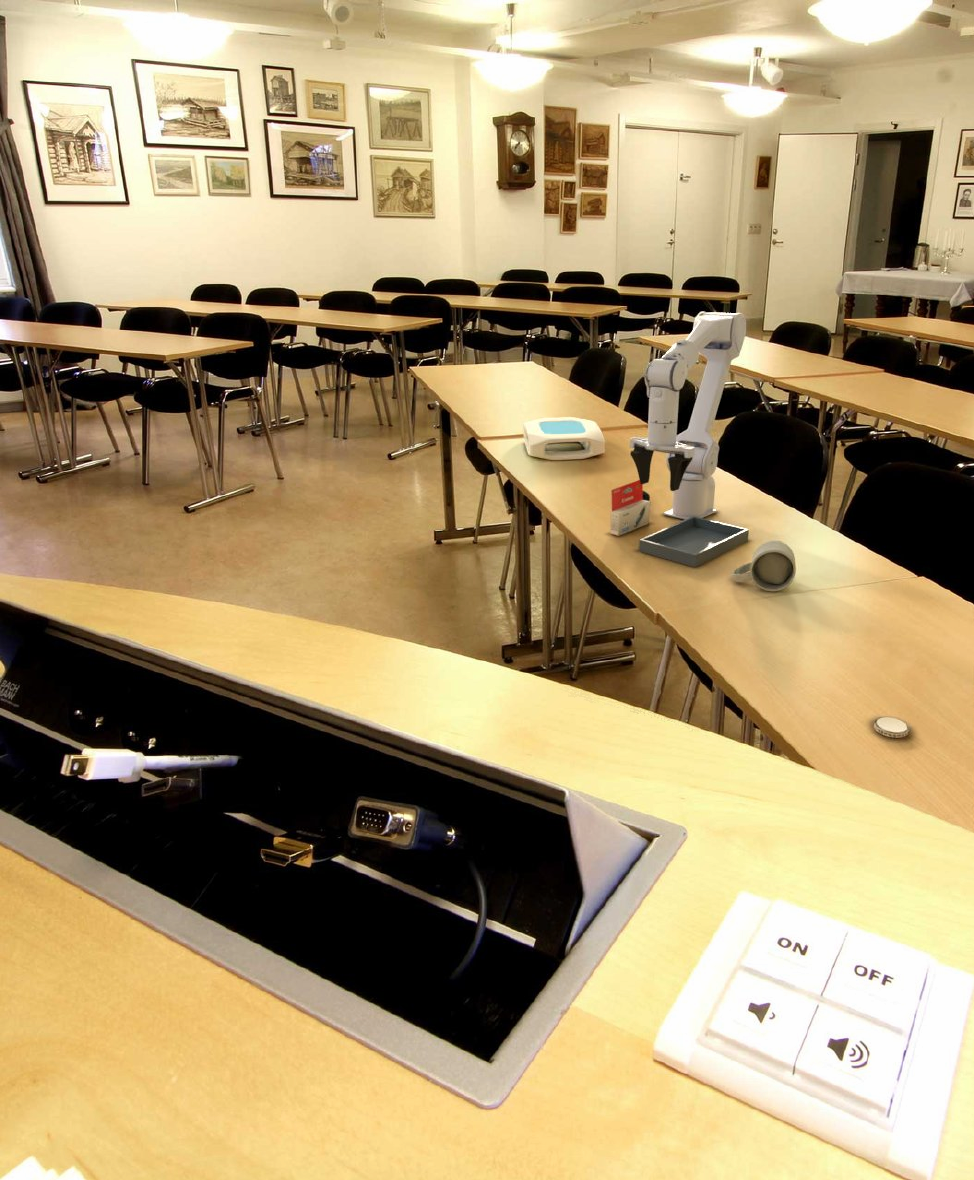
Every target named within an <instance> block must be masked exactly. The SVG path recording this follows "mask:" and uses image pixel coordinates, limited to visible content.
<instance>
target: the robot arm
mask: <svg viewBox="0 0 974 1180" xmlns="http://www.w3.org/2000/svg"><path fill="white" fill-rule="evenodd" d="M746 335H747V320H746V317H745V315H744V314H743V313H742V312H737V313H731V312H730V313H729V312H727V313H726V312H706V311H699V313H698V314H697V315H696V316H695V318H694V321H693V326H692V331H691V332H690V333H689V335H688V336H687V338H686V339H677V340H676V342H675V343H674V344H673V345H672V346H671V347H670V348H669V349H668V350H667V352H665V353H664V355H662V357H661V358H654V359H653V360H652V361H650V362H649V363H648V364H647V367H646V369H645V374H644V384H645V386H646V396H647V398H649V399H648V420H647V426H648V427H647V437H641V436H633V437H631V438H630V439H629V448H631V449H633V450H631V451H630V452H629V454H630V457H631V458H632V461H633V463H634V464H635V467H636V471H637V474H638V478H639V479H638V480H640V484H643V485H645V484H648V483H650V476H651V466H652V465H651V464H652V459H653V456H654V453H655V452H658V453H662V454H666V459H665V460H666V461H665V464H666V468H667V470H668V471H669V472H670V473H669V474H670V475H669V478H670V479H669V480H670V481H669V491H670V492H672V506H671V507H672V508H671V509H670V510H666V511H665V512H663V514H664V516H668V517H672V518H676V519H681V520H686V519H688V518H690V517H693V516H695V517H699V518H706V517H708V516H711V515H712V514H715V513H717V511H718V510H717V509H715V508H714V507H715V493H716V481H715V479H714V477H713V475H714V473H715V472H716V470H717V466H718V459H719V452H720V446H719V443H718V442H717V441H716V439H715V438H714V437H713V436H712V435H711V433H712V429H713V427H714V423H715V420H716V415H717V413H718V408H719V405H720V402H721V399H722V395H723V391H724V388H725V384H726V382H727V378H728V375H729V371H730V368H731V365H732V361H733V360H734V359H736V358H738V357H740V354H741V351H742V348H743V345H744V342H745V338H746ZM700 356H701V357H704V358H705V359H706V365H705V369H704V372H703V375H702V379H701V382H700V386H699V389H698V393H697V397H696V400H695V403H694V405H693V410H692V413H691V416H690V420H689V423H688V427H687V429H685V430H684V431H682V432H681V433H680V432H679V434H677V433H678V417H679V415H678V414H679V401H680V400H679V399H680V390H681V389H683V387H684V385H685V382H686V379H687V377H688V374H689V371H690V370H691V369H692V368H693V367H694V366H695V365H696V363H697V362H698V361H699V358H700Z"/></svg>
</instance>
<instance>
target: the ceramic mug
mask: <svg viewBox="0 0 974 1180" xmlns="http://www.w3.org/2000/svg"><path fill="white" fill-rule="evenodd" d="M796 572H797V565H796V557H795V553H794V552H793V550H792V548H791V547H790V546H789V545H788V544H787V543H785V542H783V541H781V540H769V541H765V542H763V543H761V544H760V545H759V546H758V547H757V548H756V549H755V551H754V552H753V555H752V559H751V562H748V563H745V564H742V565H740V566H738V567H737V568H735V569H734V570H733V571H732V573H731V574H732V577H733V578H732V579H733V580H734V582H736V583H747V582H749V581H752V583H754V585H755V586H757V587H758V588H759V589H761V590H763V591H766V592H779V591H782V590H784V589H786V588H787V587H789V586H790V585H791V584H792V583H793V582H794V580H795V577H796Z"/></svg>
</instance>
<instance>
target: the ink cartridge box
mask: <svg viewBox="0 0 974 1180" xmlns="http://www.w3.org/2000/svg"><path fill="white" fill-rule="evenodd" d="M643 485H644V484H640V479H638V480H635V481H632V482H630V483H627V484H624V485H622V486H619V487H616V488H613V489H611V494H610V495H611V501H610V502H611V513H610V528H609V529H610V530H609V531H610V532H609V533H610V534H611V535H613V536H617V537H619V536H622V535H625V534H627V533H630V532H632V531H635V530H636V529H640V528H642V527H644V526H646V525H648V524H650V517H651V501H646V500H643V491H644V490H643V489H644V486H643ZM627 487H629V488H631V489H632V491H631V492H628V493H626V494H623V491H624V490H625V489H626V488H627Z"/></svg>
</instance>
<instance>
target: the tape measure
mask: <svg viewBox="0 0 974 1180" xmlns="http://www.w3.org/2000/svg"><path fill="white" fill-rule="evenodd" d="M631 491H632V489H631V488H629V487H627V488H626V489H625V490H624V491H623V494H626V493H628V492H631ZM643 500H646V501H650V500H651V496H650V494H649V492H646V491H645V490H643ZM650 502H651V501H650Z"/></svg>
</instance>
